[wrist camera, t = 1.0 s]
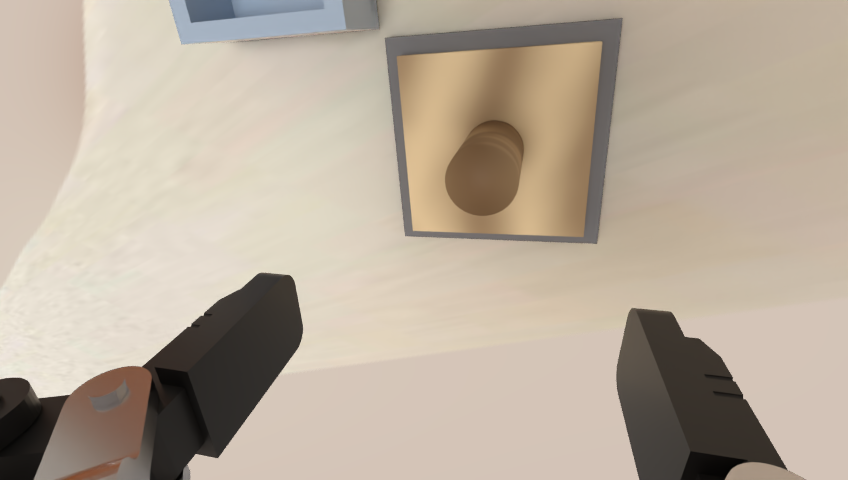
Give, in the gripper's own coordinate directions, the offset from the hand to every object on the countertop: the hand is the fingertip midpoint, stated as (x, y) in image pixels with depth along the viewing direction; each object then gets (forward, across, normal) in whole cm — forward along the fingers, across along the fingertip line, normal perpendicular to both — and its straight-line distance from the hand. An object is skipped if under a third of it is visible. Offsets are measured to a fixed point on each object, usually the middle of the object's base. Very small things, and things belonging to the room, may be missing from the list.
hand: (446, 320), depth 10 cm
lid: (+18, 0, 0) cm, 18 cm away
